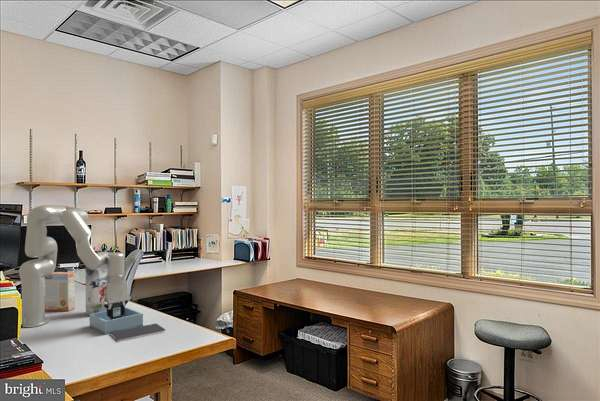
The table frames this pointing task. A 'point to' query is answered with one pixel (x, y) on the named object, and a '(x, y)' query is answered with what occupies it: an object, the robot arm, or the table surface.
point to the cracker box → (59, 291)
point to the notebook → (137, 332)
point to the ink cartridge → (116, 310)
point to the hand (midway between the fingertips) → (115, 315)
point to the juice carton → (95, 289)
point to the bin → (116, 321)
